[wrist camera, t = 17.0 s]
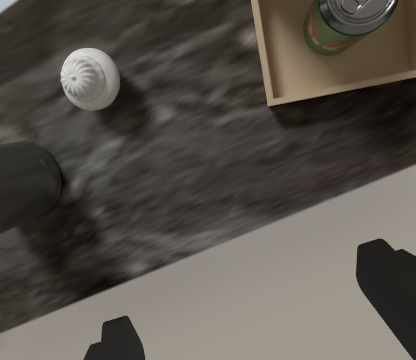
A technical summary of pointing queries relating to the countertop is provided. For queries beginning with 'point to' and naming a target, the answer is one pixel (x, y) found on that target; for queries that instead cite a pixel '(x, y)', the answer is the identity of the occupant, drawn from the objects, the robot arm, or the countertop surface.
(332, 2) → the soda can
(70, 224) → the countertop surface
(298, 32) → the mailer box
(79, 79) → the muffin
